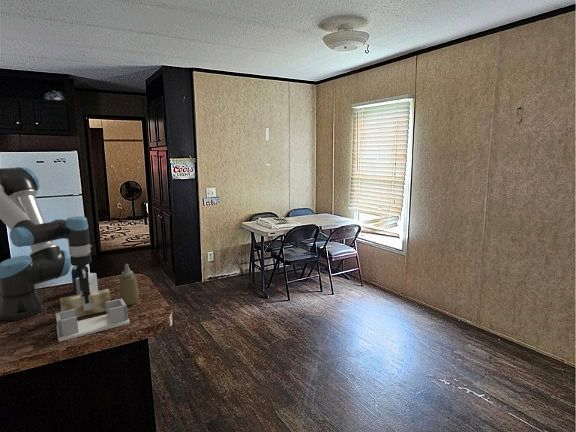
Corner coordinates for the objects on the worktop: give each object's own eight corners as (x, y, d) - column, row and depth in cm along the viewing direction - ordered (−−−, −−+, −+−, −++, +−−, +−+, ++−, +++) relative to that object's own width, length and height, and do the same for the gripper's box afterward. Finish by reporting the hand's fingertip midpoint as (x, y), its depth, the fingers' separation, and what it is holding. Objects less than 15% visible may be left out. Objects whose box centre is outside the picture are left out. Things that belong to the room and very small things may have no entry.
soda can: (72, 290, 178) (69, 266, 176) (88, 287, 182) (86, 264, 180) (74, 294, 172) (71, 270, 170) (90, 291, 176) (88, 267, 174)
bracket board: (58, 341, 130) (56, 323, 129) (56, 328, 140) (54, 311, 138) (129, 323, 143) (128, 306, 142) (123, 312, 153) (122, 296, 152)
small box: (87, 293, 174) (85, 272, 172) (98, 293, 173) (96, 272, 172) (77, 300, 166) (74, 278, 164) (89, 300, 166) (86, 278, 164)
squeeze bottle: (126, 308, 157) (122, 268, 154) (116, 303, 162) (112, 265, 159) (143, 302, 164) (140, 263, 160) (133, 297, 168) (130, 260, 165)
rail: (62, 320, 146) (60, 301, 145) (62, 316, 150) (59, 298, 149) (111, 309, 156) (109, 292, 155) (110, 306, 160) (108, 288, 158)
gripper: (94, 257, 143) (100, 313, 148) (88, 248, 158) (93, 298, 162) (72, 261, 139) (78, 318, 143) (68, 251, 153) (74, 303, 158)
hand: (86, 307), depth 153 cm, fingers closed on rail, 5 cm apart
